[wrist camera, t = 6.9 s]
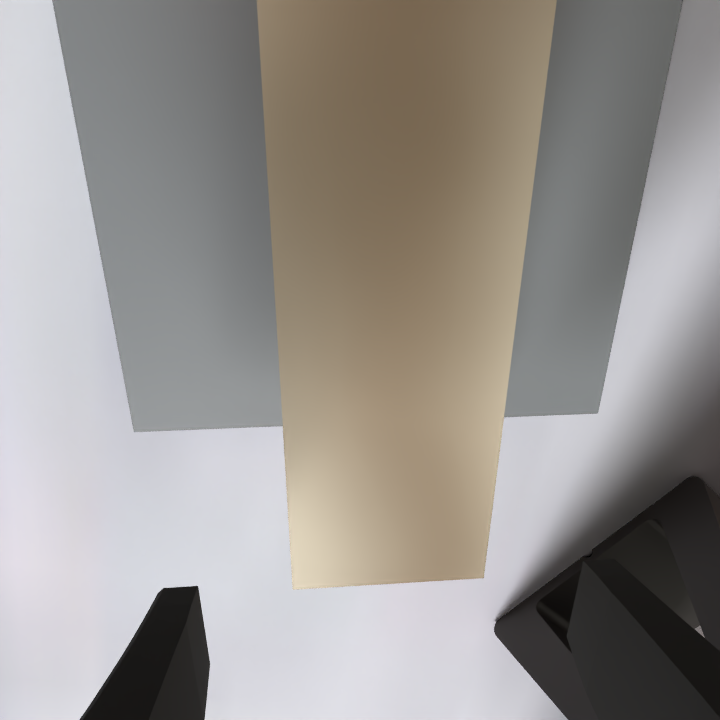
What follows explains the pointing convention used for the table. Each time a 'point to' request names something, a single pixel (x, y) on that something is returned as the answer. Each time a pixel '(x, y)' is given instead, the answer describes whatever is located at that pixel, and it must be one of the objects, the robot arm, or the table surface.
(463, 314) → the block
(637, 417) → the table surface
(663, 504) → the phone stand
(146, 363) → the deck
